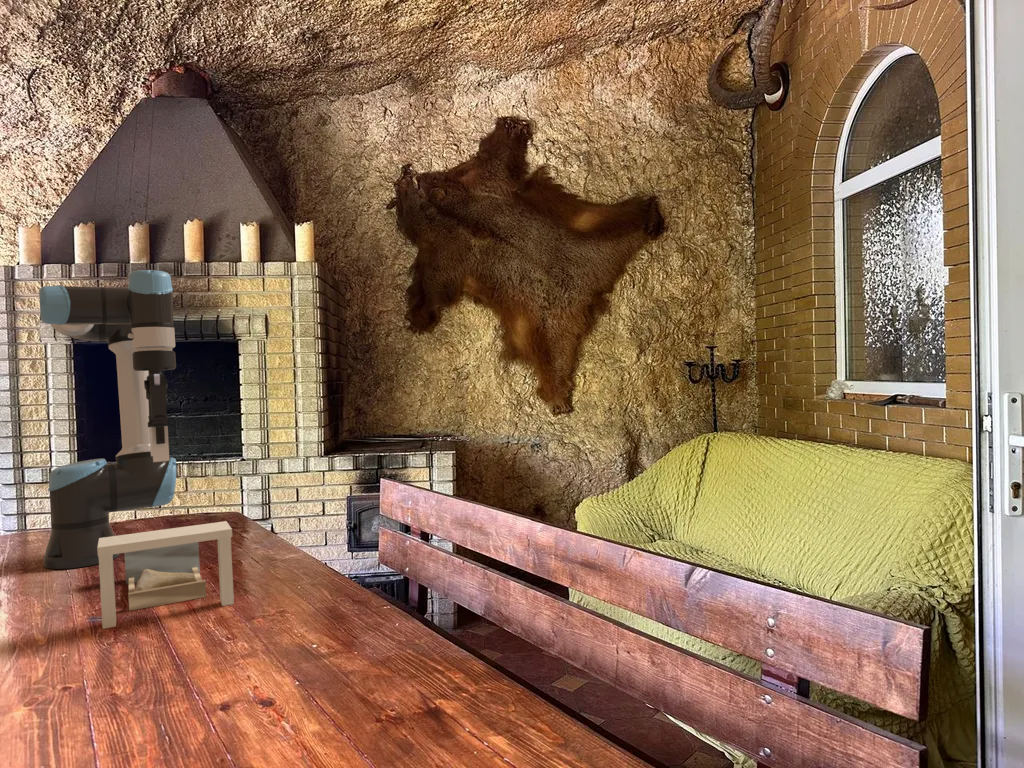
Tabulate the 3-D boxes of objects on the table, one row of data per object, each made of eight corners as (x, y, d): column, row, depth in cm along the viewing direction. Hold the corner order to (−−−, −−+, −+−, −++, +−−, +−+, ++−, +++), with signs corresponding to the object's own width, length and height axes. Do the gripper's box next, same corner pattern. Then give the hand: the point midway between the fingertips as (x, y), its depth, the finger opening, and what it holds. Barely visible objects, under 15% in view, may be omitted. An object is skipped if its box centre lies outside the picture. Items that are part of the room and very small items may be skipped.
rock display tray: (126, 579, 147) (123, 537, 146) (198, 567, 153) (196, 527, 153) (126, 611, 126) (123, 562, 126) (209, 596, 133) (206, 550, 133)
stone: (137, 602, 130) (135, 576, 130) (126, 595, 134) (125, 571, 134) (198, 587, 138) (197, 563, 138) (187, 581, 142) (185, 558, 142)
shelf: (103, 619, 123) (99, 538, 122) (230, 596, 133) (226, 521, 132) (102, 633, 116) (97, 547, 115) (235, 607, 126) (231, 528, 125)
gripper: (131, 353, 144) (137, 454, 145) (132, 347, 123) (139, 466, 123) (171, 352, 148) (176, 451, 148) (179, 346, 126) (185, 461, 127)
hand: (159, 458), depth 136 cm, fingers open, 13 cm apart
